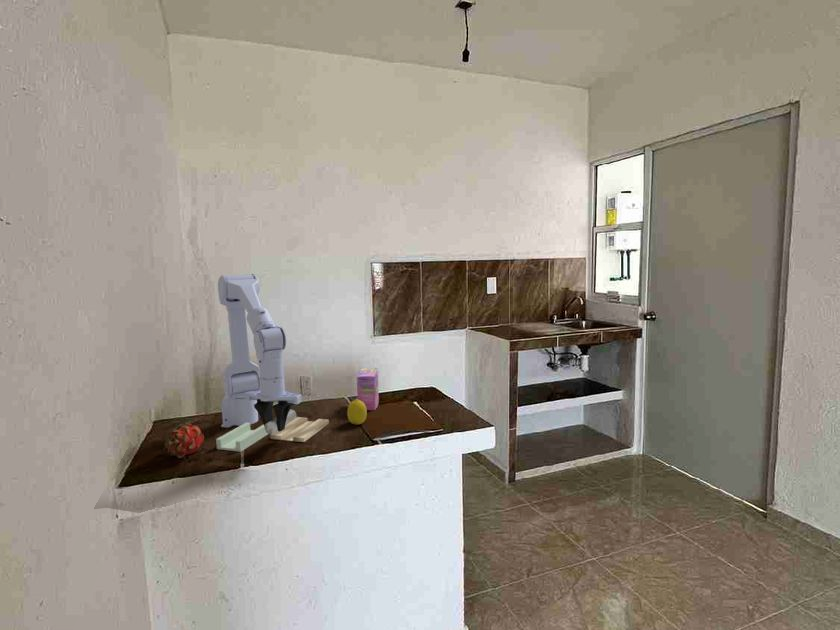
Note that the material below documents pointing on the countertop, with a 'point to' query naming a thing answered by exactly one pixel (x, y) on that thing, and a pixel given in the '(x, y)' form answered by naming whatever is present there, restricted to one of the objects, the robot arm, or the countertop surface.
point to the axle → (272, 425)
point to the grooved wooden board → (300, 429)
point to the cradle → (240, 438)
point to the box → (368, 387)
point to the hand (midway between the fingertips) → (275, 429)
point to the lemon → (357, 412)
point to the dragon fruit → (183, 440)
